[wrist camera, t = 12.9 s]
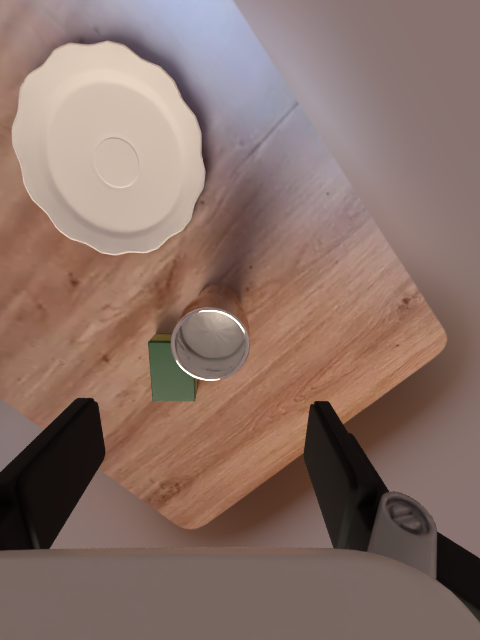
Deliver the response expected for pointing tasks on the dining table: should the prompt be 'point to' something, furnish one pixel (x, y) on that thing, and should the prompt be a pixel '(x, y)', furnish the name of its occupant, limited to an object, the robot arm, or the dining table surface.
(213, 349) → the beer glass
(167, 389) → the sponge
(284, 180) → the dining table surface
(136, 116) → the plate
